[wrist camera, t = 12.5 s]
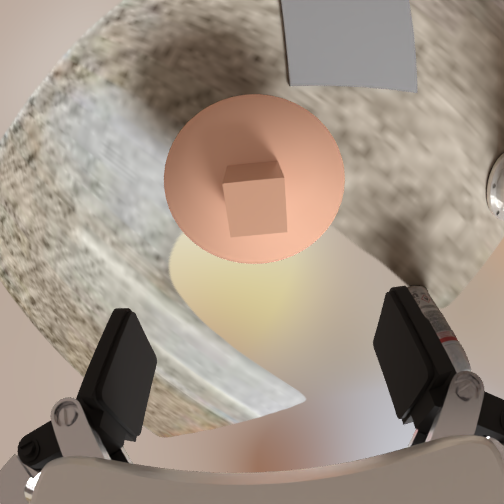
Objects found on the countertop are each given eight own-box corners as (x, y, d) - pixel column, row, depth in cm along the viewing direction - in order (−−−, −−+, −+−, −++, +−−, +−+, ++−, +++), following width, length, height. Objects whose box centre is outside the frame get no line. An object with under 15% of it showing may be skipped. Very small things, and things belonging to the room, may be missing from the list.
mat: (403, -18, 19) (405, -19, 18) (415, 92, 27) (417, 93, 27) (275, -34, 20) (276, -36, 19) (289, 85, 28) (290, 85, 28)
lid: (339, 90, 20) (364, 92, 15) (338, 250, 28) (354, 285, 23) (152, 109, 20) (127, 117, 16) (186, 264, 28) (175, 301, 24)
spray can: (377, 310, 46) (418, 409, 29) (410, 276, 42) (467, 372, 25) (404, 323, 48) (444, 411, 31) (434, 293, 45) (485, 379, 28)
